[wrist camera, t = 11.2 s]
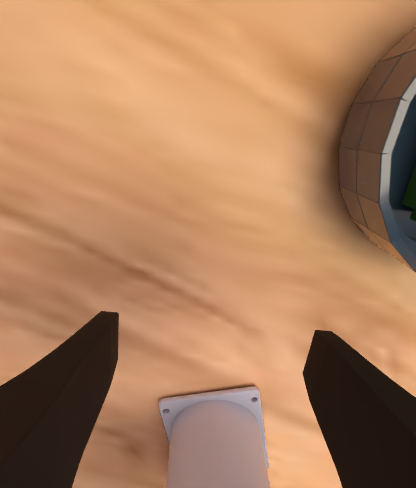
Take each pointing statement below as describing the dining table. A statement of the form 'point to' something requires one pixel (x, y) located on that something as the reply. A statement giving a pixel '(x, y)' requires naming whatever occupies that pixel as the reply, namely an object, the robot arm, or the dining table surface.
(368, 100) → the bowl
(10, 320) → the dining table surface
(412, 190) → the green box
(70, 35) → the dining table surface
